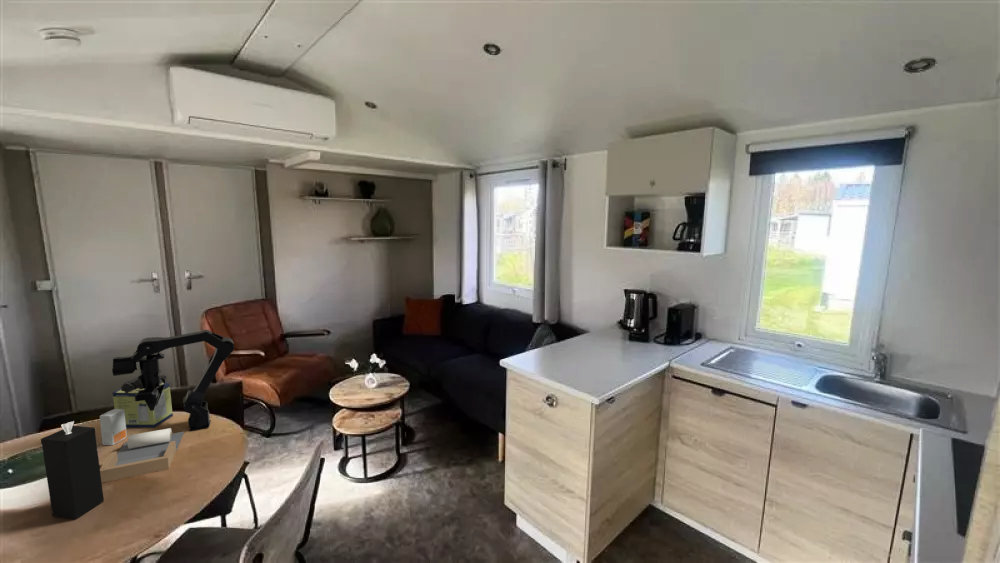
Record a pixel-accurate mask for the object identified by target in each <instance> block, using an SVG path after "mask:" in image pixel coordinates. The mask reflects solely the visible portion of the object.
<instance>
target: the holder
mask: <svg viewBox="0 0 1000 563" xmlns="http://www.w3.org/2000/svg"><path fill="white" fill-rule="evenodd" d="M184 434H185V433H184V431H181V432H175V433H174V432H172V439H171V441H170V442H165V443H160V444H154V445H149V446H143V447H138V448H132V449H129V448H128V441H125V442H124V443H123V445H122V446H121V447H120V449H119V451H118V450H117V451H111V452H110V454H109V455H108V456H107V458H106V460H104V462H103V464H102V466H101V467H100V475H101V482H102V484H103V483H107V482H112V481H116V480H117V481H118V480H122V479H127V478H132V477H137V476H142V475H147V474H151V472H152V473H155V471H157V472H160V471H159V470H161V471H165V470H164V469H166V470H169V469H170V468H171V465H172V463H171V462H173V461H174V458H175V456H174V454H175V455H176V453H177V451H178V448H179V446H178V445H180V444H181V441H182V439H183V437H182V436H184ZM181 438H182V439H181ZM179 443H180V444H179ZM176 450H177V451H176ZM175 452H176V453H175ZM173 457H174V458H173Z"/></svg>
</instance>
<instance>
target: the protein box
mask: <svg viewBox="0 0 1000 563" xmlns="http://www.w3.org/2000/svg"><path fill="white" fill-rule="evenodd" d="M161 385H165V387H164V389H163V392H162V394H161V397H160V399H159V402H158V404H157V405H156V406H155V409H154V410H153V411H150V409H149V407H148V405H147V404H146V402H145V401H144V400H143V401H135V395H136V394H137V393H138V392H139V391H140V390H145V388H143V389H139V388H137V389H134V390H132V391H130V392H128V393H125V392H124V391H121V390H122V388H121V387H120V388H119V389H117V390H115V391H113V392H112V400H113V408H114V409H124V412H125V422H126V429H127V428H132V429H133V428H136V429H137V428H138V429H139V428H140V429H141V428H142V429H143V428H147V429H148V428H149V429H150V428H151V429H155V428H156V427H158V426H159V425H161V424H162V422H163V423H164V422H166V421H167V420H169V419H170V418H172V417H174V413H173V408H172V407H173V406H172V396H171V386H170V383H169V382H166V383H165V384H164V383H163V382H162V383H161Z"/></svg>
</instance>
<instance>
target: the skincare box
mask: <svg viewBox="0 0 1000 563" xmlns="http://www.w3.org/2000/svg"><path fill="white" fill-rule="evenodd" d="M99 423H100V424H99V425H100V434H101V442H102V444H101V445H104V446H114V445H115V444H118V443H120V442H121V441H123V440H125V439H128V438H127V437H128V432H127V428H126V422H125V412H124V409H111V410H108V411H107V412H105V413H102V414H101V415H99Z"/></svg>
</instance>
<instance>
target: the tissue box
mask: <svg viewBox="0 0 1000 563" xmlns="http://www.w3.org/2000/svg"><path fill="white" fill-rule="evenodd" d="M74 423H75V420H73V421H70V422H69V421H68V422H67V423H63V424H60V425H61V428H62V429H61V430H59V431H56V432H54V433H51V434H49V435H47V436H43V437H42V438H40V444H41V447H42V453H43V459H44V460H43V461H44V469H45V474H46V481H47V487H48V493H49V494H48V495H49V500H50V508H51V514H52V515H51V516H52V518H53V517H54V518H62V519H70V520H77V519H79V518H80V517H82V516H83V515H85V514H86V513H88V512H89V511H91V510H93V509H94V508H96V507H97V506H99V505H101V504H102V503H103V502H104V501H105V500H104V492H103V491H104V490H103V485H102V484H103V483H102V482H101V475H100V468H101V467H100V460H99V452H98V445H97V443H98V442H97V436H96V427H93V426H83V425H74Z"/></svg>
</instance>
